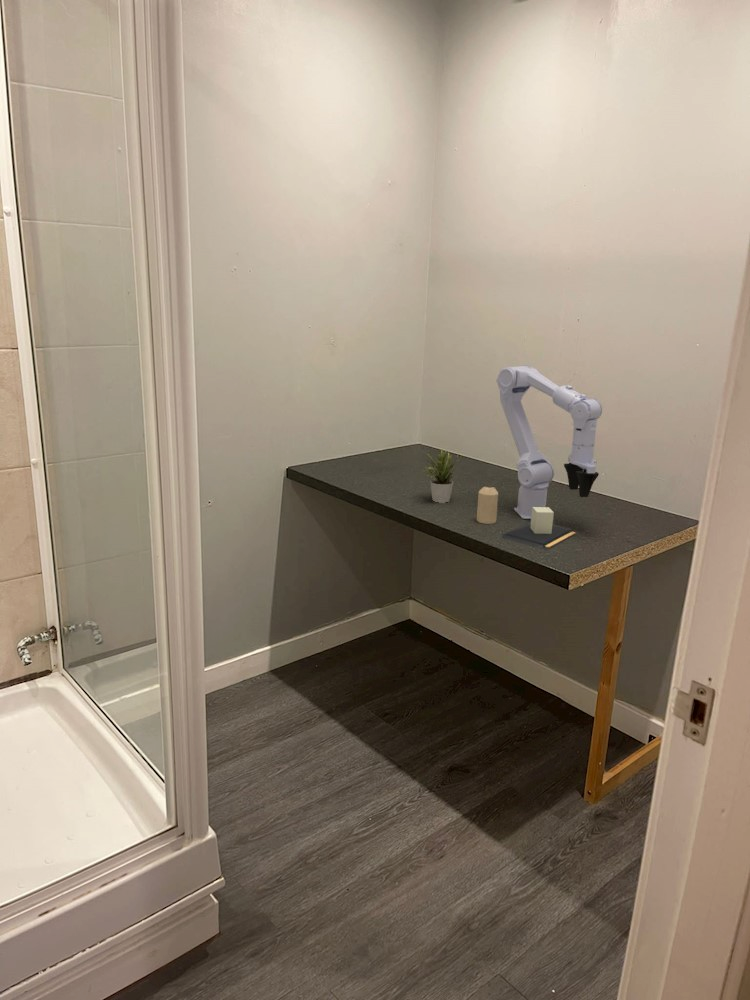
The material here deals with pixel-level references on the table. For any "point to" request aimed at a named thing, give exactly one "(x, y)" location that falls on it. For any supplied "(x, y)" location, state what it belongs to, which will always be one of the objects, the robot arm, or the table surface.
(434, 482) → the house plant
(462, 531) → the table surface
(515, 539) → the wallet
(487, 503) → the candle
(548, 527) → the block
